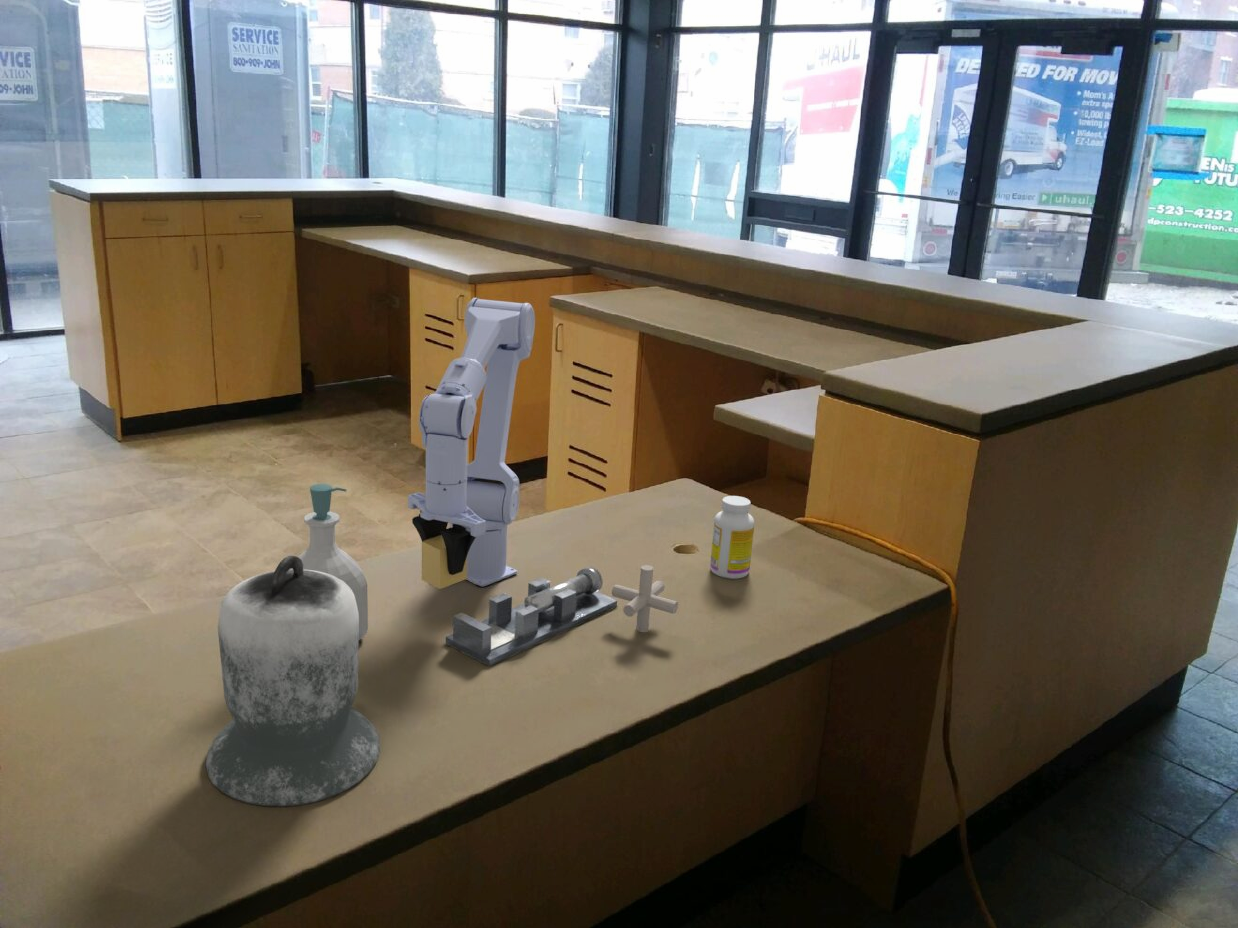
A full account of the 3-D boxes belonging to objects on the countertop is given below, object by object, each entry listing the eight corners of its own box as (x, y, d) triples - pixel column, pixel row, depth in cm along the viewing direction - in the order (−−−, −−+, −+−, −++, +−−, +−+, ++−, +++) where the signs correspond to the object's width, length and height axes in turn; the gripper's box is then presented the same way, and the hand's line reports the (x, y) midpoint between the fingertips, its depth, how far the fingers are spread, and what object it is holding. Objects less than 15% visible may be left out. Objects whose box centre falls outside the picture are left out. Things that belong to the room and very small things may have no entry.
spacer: (421, 579, 154) (421, 541, 152) (448, 570, 158) (448, 532, 156) (439, 588, 152) (440, 550, 150) (466, 578, 155) (467, 540, 153)
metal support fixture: (445, 642, 151) (445, 612, 150) (573, 587, 171) (575, 559, 170) (489, 666, 146) (490, 634, 145) (616, 606, 166) (618, 577, 164)
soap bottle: (374, 640, 151) (372, 488, 144) (314, 662, 144) (308, 504, 137) (335, 615, 157) (332, 469, 150) (276, 636, 150) (269, 483, 143)
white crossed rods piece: (596, 633, 157) (600, 570, 154) (627, 608, 165) (632, 548, 162) (657, 652, 153) (663, 588, 150) (686, 625, 161) (692, 564, 158)
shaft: (520, 613, 159) (521, 588, 157) (582, 586, 169) (583, 563, 167) (540, 622, 156) (541, 597, 155) (601, 594, 166) (603, 571, 165)
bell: (407, 727, 131) (407, 539, 123) (329, 823, 113) (323, 610, 105) (266, 698, 135) (256, 514, 127) (169, 786, 117) (151, 578, 109)
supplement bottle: (755, 570, 182) (763, 500, 178) (738, 583, 176) (746, 511, 172) (720, 560, 185) (727, 490, 181) (702, 572, 180) (709, 501, 176)
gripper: (390, 470, 151) (391, 559, 156) (459, 499, 143) (457, 591, 147) (429, 460, 156) (429, 546, 161) (498, 487, 148) (495, 577, 152)
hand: (445, 567), depth 154 cm, fingers closed on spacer, 4 cm apart
